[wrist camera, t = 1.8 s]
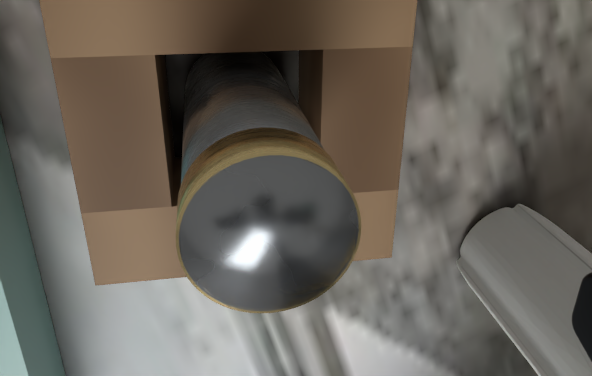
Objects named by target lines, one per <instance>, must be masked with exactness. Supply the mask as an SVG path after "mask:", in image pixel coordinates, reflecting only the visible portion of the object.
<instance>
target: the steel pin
mask: <svg viewBox="0 0 592 376" xmlns="http://www.w3.org/2000/svg"><path fill="white" fill-rule="evenodd" d="M360 236H361V216H360V210H359V207H358V204H357V201H356V199H355V197H354V195H353V193H352V191H351V189H350V187H349V186H348V184H347V182H346V181H345V179H344V177H343V175H342V174H341V172H340V170H339V169H338V167H337V165H336V164H335V162H334V161H333V159H332V158H331V157H330V155H329V154H328V153H327V152H326V151H325V150H324V148H323V146H322V145H321V143H320V141H319V139H318V138H317V136H316V134H315V133H314V131H313V129H312V127H311V126H310V124H309V122H308V120H307V119H306V117H305V115H304V114H303V112H302V110H301V108H300V107H299V105H298V103H297V101H296V100H295V98H294V96H293V95H292V93H291V91H290V89H289V88H288V86H287V84H286V82H285V81H284V79H283V77H282V76H281V74H280V72H279V70H278V69H277V67H276V66H275V64H274V63H273V62H272V61H271V59H270V58H269V57H267V56H266V55H265V54H264V53H262V52H261V51H260V52H229V53H205V54H204V55H202V56H201V57H200V58H199V59H198V60H197V61H196V62H195V64H194V65H193V66H192V68H191V70H190V72H189V74H188V76H187V80H186V84H185V97H184V121H183V145H182V170H181V187H180V190H179V194H178V203H177V221H176V249H177V254H178V259H179V261H180V264H181V267H182V269H183V271H184V273H185V274H186V276H187V278H188V279H189V280H190V282H191V283H192V284H193V285H194V286H195V287H196V288H197V289H198V290H199V291H200V292H201V293H202V294H204V295H205V296H206V297H208V298H209V299H211V300H212V301H214V302H216V303H218V304H220V305H222V306H225V307H227V308H230V309H234V310H238V311H243V312H249V313H273V312H279V311H285V310H288V309H292V308H296V307H298V306H301V305H303V304H306V303H308V302H310V301H312V300H314V299H316V298H317V297H319V296H320V295H322V294H323V293H325V292H326V291H327V290H329V289H330V288H331V287H332V286H333V285H334V284H335V283H336V282H337V281H338V280H339V279H340V278H341V277H342V276H343V274H344V273H345V272H346V271H347V269H348V268H349V266H350V264H351V263H352V261H353V259H354V257H355V254H356V252H357V249H358V246H359V242H360Z"/></svg>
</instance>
